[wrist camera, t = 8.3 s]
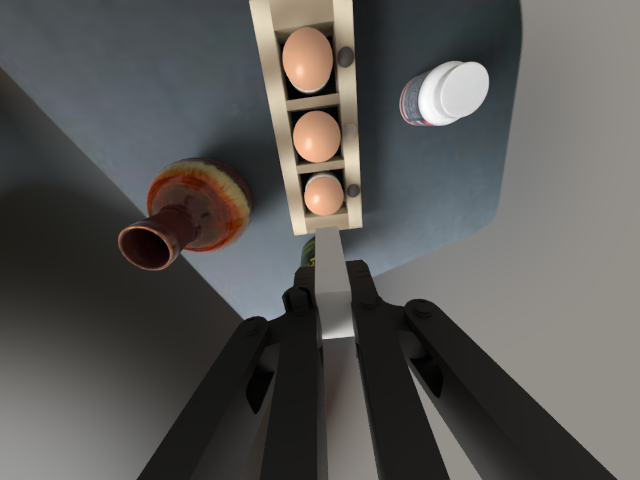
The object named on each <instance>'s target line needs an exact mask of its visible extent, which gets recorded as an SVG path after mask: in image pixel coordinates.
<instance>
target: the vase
mask: <svg viewBox="0 0 640 480" xmlns="http://www.w3.org/2000/svg"><path fill="white" fill-rule="evenodd" d="M146 205H147V212H148V215H149V218H147V219H144V220H142V221H139V222H137V223H135V224H132V225H130V226H129V227H127V228H125V229H124V230H123V231H122V232H121V233H120V235H119V239H118V243H119V247H120V250H121V252H122V253H123V255H124V256H125V257H126V258H127V259H128V260H129V261H130V262H131V263H133V264H134V265H136V266H138V267H140V268H143V269H147V270H161V269H164V268H166V267H167V266H169V265H170V264H171V263H172V261H173V260H174V259H175V258H176V257H177V256H178V255H179V254H180V252H181V251H182V250H187V251H191V252H197V253H207V252H214V251H218V250H221V249H224V248H226V247H228V246H230V245H231V244H233V243H234V242H236V241H237V240H238V239H239V238H240V237H241V236H242V235H243V233H244V232H245V231H246V229H247V227H248V225H249V223H250V221H251V217H252V211H253V202H252V196H251V192H250V190H249V188H248V186H247V184H246V182H245V181H244V179H243V178H242V177H241V176H240V175H239V174H238V173H237V172H236V171H235V170H234V169H232V168H231V167H229V166H227V165H226V164H224V163H222V162H219V161H216V160H213V159H208V158H188V159H182V160H179V161H176V162H174V163H172V164H170V165H168V166H166V167H165V168H164V169H162V170H161V171H160V172H159V173H158V174H157V175H156V177H155V178H154V179H153V181H152V183H151V185H150V187H149V189H148V193H147V201H146Z"/></svg>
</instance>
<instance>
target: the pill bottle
mask: <svg viewBox="0 0 640 480" xmlns="http://www.w3.org/2000/svg"><path fill="white" fill-rule="evenodd" d="M488 87H489V77H488V73H487V71H486V69H485V68H484V67H483V66H482V65H481V64H479V63H477V62H466V63H463V62H460V61H450V62H446V63H444V64H441V65H439V66H437V67H435V68H433V69H431V70H429V71H427V72H425V73H422V74H420V75H418V76H416V77H414V78H413V79H411V80H410V81H409V82H408V83H407V85H406V86H405V88H404V89H403V91H402V94H401V97H400V111H401V114H402V116H403V118H404V119H405V120H406V121H407V122H408V123H410V124H412V125H417V126H423V125H432V126H441V125H447V124H450V123H452V122H454V121H456V120H458V119H459V118H460V117H464V116H467V115H469V114H471V113H472V112H474V111H475V110H476V109H477V108H478V107H479V106H480V105H481V104H482V102H483V101H484V99H485V97H486V95H487V92H488Z"/></svg>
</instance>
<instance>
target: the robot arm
mask: <svg viewBox="0 0 640 480" xmlns="http://www.w3.org/2000/svg"><path fill="white" fill-rule="evenodd" d="M282 299H283V303H284V307H285V310H286V313H285V314H283V315H282V316H280V317H278V318H276V319H273V320H270V321H268V322H267V320H266V319H265V318H264V317H260V316H255V317H251V318H248V319H246V320H245V321H243V322H242V323H241V324H240V325H239V326H238V327H237V329H236V330H235V332H234V333H233V335H232V336H231V338H230V339H229V341H228V342H227V344H226V345H225V347H224V348H223V350H222V351H221V353H220V354H219V356H218V357H217V359H216V360H215V362H214V363H213V365H212V366H211V368H210V370H209V371H208V373H207V374H206V376H205V377H204V379H203V380H202V382H201V383H200V385H199V386H198V388H197V389H196V391H195V392H194V394H193V395H192V397H191V398H190V400H189V402H188V403H187V404H186V406H185V408H184V409H183V410H182V412H181V413H180V415H179V416H178V418H177V420H176V421H175V423H174V424H173V426H172V427H171V429H170V430H169V432H168V433H167V435H166V436H165V438H164V439H163V441H162V442H161V444H160V445H159V447H158V448H157V450H156V451H155V453H154V454H153V456H152V457H151V459H150V460H149V462H148V463H147V465H146V466H145V468H144V470H143V471H142V473H141V474H140V476H139V477H138V478H137V480H239V478H240V475H241V473H242V470H243V468H244V465H245V462H246V460H247V457H248V454H249V452H250V449H251V447H252V444H253V441H254V439H255V436H256V434H257V431H258V428H259V426H260V423H261V420H262V418H263V415H264V413H265V410H266V407H267V405H268V402H269V399H270V397H271V394H272V392H273V398H272V404H271V411H270V417H269V423H268V430H267V436H266V443H265V449H264V456H263V462H262V468H261V475H260V480H328V462H327V461H328V459H327V434H326V433H327V431H326V403H325V375H324V349H323V343H322V338H323V339H329V338H339V337H348V336H349V337H350V336H355V344H356V356H357V358H358V363H359V369H360V374H361V380H362V385H363V391H364V397H365V403H366V409H367V415H368V421H369V427H370V433H371V438H372V444H373V450H374V456H375V461H376V467H377V473H378V479H379V480H450V478H449V476H448V473H447V470H446V467H445V465H444V462H443V459H442V457H441V454H440V451H439V449H438V446H437V443H436V440H435V438H434V435H433V433H432V430H431V427H430V424H429V422H428V419H427V416H426V414H425V411H424V408H423V406H422V403H421V400H420V398H419V395H418V392H417V389H416V387H415V384H414V382H413V379H412V376H411V373H410V371H409V368H410V369H411V370H412V372H413V374H414V375H415V377H416V378H417V380H418V381H419V383H420V385H421V386H422V388H423V389H424V391H425V392H426V393H427V395H428V397H429V398H430V400H431V401H432V403H433V404H434V406H435V407H436V409H437V410H438V412H439V414H440V415H441V417H442V418H443V420H444V421H445V423H446V424H447V426H448V427H449V429H450V431H451V432H452V434H453V435H454V437H455V438H456V440H457V441H458V443H459V444H460V446H461V448H462V449H463V450H464V452H465V454H466V455H467V457H468V458H469V460H470V461H471V463H472V464H473V466H474V468H475V469H476V471H477V472H478V474H479V475H480V477H481V478H482V480H617V479H616V478H615V477H614V476H613V475H612V474H611V473H610V472H609V471H608V470H607V469H606V468H605V467H604V466H603V465H602V464H601V463H599V461H597V460H596V459H595V458H594V457H593V456H592V455H591V454H590V453H589V452H588V451H587V450H586V449H585V448H584V447H583V446H582V445H581V444H580V443H579V442H578V441H577V440H576V439H575V438H574V437H572V435H571V434H569V433H568V432H567V431H566V430H565V429H564V428H563V427H562V426H561V425H560V424H559V423H558V422H557V421H556V420H555V419H554V418H553V417H552V416H551V415H550V414H549V413H548V412H547V411H546V410H545V409H543V408H542V407H541V406H540V405H539V404H538V403H537V402H536V401H535V400H534V399H533V398H532V397H531V396H530V395H529V394H528V393H527V392H526V391H525V390H524V389H523V388H522V387H521V386H520V385H518V383H517V382H515V381H514V380H513V379H512V378H511V377H510V376H509V375H508V374H507V373H506V372H505V371H504V370H503V369H502V368H501V367H500V366H499V365H498V364H497V363H496V362H495V361H494V360H493V359H492V358H491V357H490V356H489V355H488V354H487V353H485V352H484V351H483V350H482V349H481V348H480V347H479V346H478V345H477V344H476V343H475V342H474V341H473V340H472V339H471V338H470V337H469V336H468V335H467V334H466V333H465V332H464V331H463V330H462V329H461V328H460V327H458V326H457V325H456V324H455V323H454V322H453V321H452V320H451V319H450V318H449V317H448V316H447V315H446V314H445V313H444V312H443V311H442V310H441V309H440V308H439V307H438V306H437V305H435V304H434V303H432V302H430V301H427V300H424V299H414V300H411V301H409V302H407V303H406V305H405V307H403V306H396V305H392V304H389V303H386V302H385V301H383V300H382V298H381V297H380V296H379V295H378V293H377V291H376V288H375V285H374V282H373V279H372V277H371V274H370V271H369V268H368V265H367V264H366V263H365V262H364V261H363V260H354V261H345V259H344V254H343V249H342V244H341V239H340V234H339V230H338V226H333V227H324V228H316V229H315V266H306V267H299V269H298V270H297V271H296V272H295V277H294V285H293V287H291V288H289V289H288V290H287V291H286V292H284V294H283V296H282ZM408 366H409V368H408ZM273 389H274V391H273Z"/></svg>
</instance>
